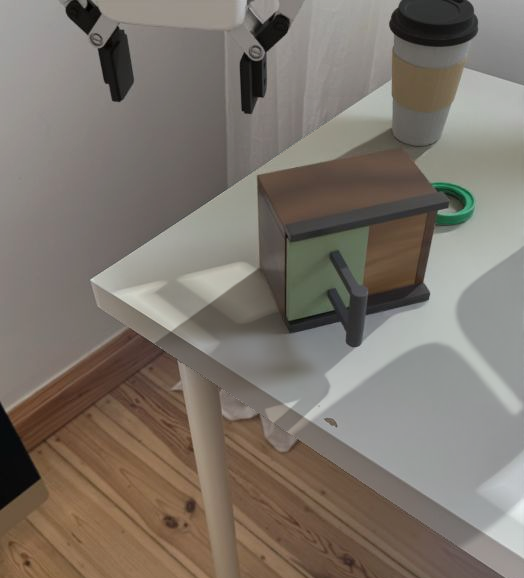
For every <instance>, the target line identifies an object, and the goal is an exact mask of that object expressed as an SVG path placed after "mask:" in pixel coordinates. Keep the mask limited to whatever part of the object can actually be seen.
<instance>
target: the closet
mask: <svg viewBox="0 0 524 578" xmlns="http://www.w3.org/2000/svg"><path fill="white" fill-rule="evenodd" d="M430 182H431V181H430V180H429V179H428V178H427V177H426V175H425V174H424V172H423V171H422V170H421V169H420V168H419V166H418V165H417V163H416V162H415V161H414V160H413V158H412V157H411V156H410V155H409V153H408V152H407V151H406V149H405V148H404V147H403V146H401V145H400V146H395V147H391V148H387V149H381V150H376V151H370V152H366V153H361V154H356V155H351V156H345V157H340V158H335V159H331V160H326V161H320V162H316V163H315V162H314V163H310V164H306V165H301V166H295V167H290V168H285V169H280V170H275V171H269V172H265V173H260V174H257V175H256V189H257V191H256V193H257V223H258V224H257V226H258V258H259V259H258V261H259V268H260V271H261V273H262V276H263V278H264V281H265V282H266V285H267V286H268V288H269V291H270V293H271V295H272V298H273V300H274V302H275V304H276V306H277V308H278V311H279V313H280V315H281V317H282V319H283V322H284V324H285V326H286V329H287V331H288V333H289V334H293V333H298V332H300V331H305V330H310V329H313V328H317V327H322V326H327V325H330V324H334V323H338V322H339V323H340V322H341V321H340V319H339V317H338V315H337V314H336V312H335V310H333V311H329V312H324V313H320V314H316V315H312V316H308V317H303V318H299V319H295V320H291V321H288V319H287V317H286V284H287V238H289V239H290V241H291V242H295V241H300V240H305V239H309V238H314V237H319V236H323V235H328V234H332V233H337V232H342V231H346V230H351V229H355V228H360V227H365V226H369V233H368V242H367V250H366V259H365V267H364V276H363V284H362V286H365V287H366V288H367V289H368V299H367V306H366V314H365V316H367V315H372V314H375V313H380V312H384V311H388V310H393V309H397V308H400V307H405V306H409V305H412V304H417V303H423V302H425V301H426V302H427V301H429V300H430V297H431V291H430V290H429V288H428V287H427V285H426V284H425V282H424V281H425V276H426V272H427V267H428V263H429V262H428V261H429V257H430V253H431V247H432V242H433V236H434V232H435V227H436V224H435V223H436V218H437V213H439V211H442V210H447V209H449V208H450V203H451V200H450V199H449V198H448V196H447V195H446V193H444V192H442V191H440V192H437V191H436V190H435V188H434V187H433V186H432V184H431V183H430ZM346 308H347V310H348V311H349V307H346Z"/></svg>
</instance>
